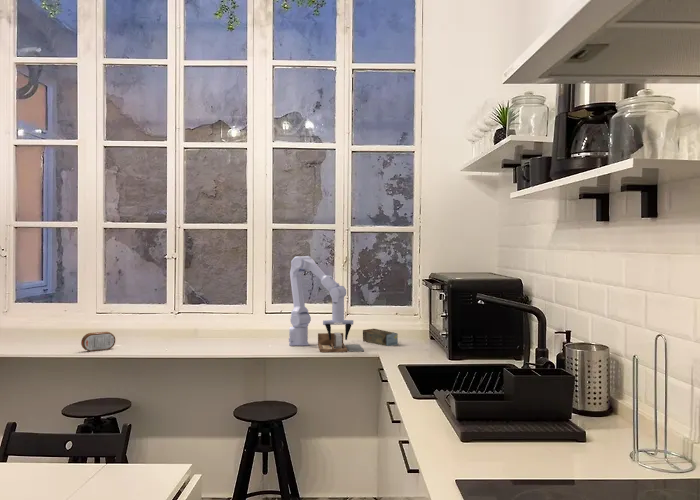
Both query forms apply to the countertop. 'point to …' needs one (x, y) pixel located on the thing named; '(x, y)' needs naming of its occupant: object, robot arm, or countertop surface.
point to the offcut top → (326, 347)
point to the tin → (98, 341)
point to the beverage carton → (380, 337)
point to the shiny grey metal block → (337, 341)
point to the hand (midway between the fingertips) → (338, 339)
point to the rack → (329, 343)
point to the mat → (354, 347)
